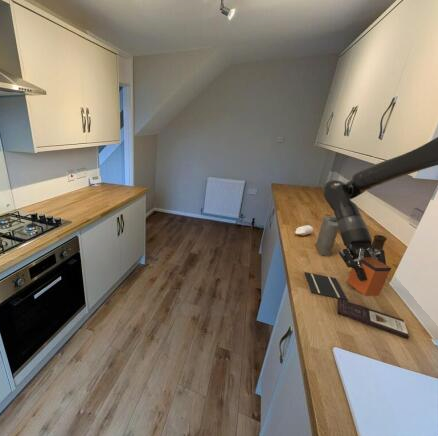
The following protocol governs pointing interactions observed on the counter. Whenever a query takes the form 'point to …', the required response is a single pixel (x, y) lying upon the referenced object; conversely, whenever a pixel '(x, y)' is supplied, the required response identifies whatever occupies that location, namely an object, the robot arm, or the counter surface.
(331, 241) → the flask
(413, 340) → the counter surface
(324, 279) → the mat
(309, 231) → the roll
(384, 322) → the chocolate bar
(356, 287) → the box
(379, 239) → the beer bottle
